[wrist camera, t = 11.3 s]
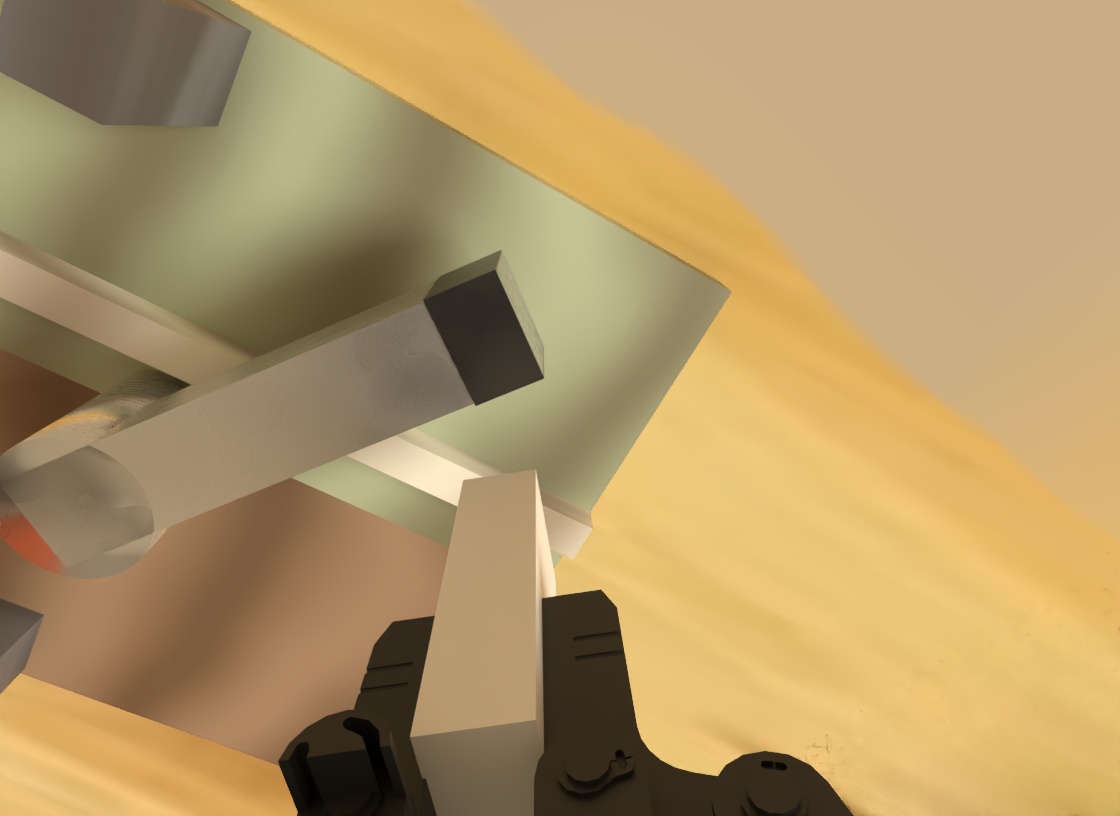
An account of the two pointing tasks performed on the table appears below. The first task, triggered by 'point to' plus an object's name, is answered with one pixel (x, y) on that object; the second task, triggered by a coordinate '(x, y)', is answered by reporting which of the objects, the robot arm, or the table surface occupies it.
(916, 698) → the table surface
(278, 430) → the lock bar
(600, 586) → the table surface
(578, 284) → the lever base plate
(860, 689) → the table surface
